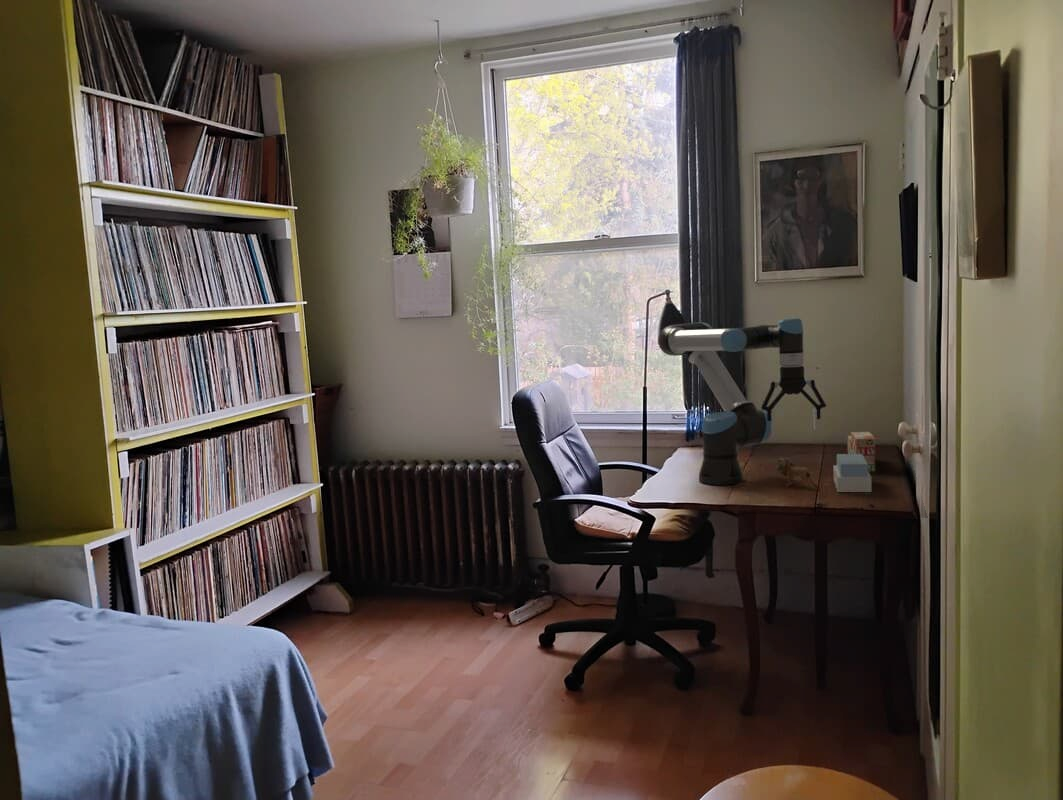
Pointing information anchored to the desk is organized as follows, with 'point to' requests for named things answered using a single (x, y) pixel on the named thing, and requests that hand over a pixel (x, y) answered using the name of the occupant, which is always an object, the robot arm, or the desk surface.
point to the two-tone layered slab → (851, 473)
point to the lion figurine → (793, 472)
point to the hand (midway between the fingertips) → (794, 430)
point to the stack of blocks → (863, 447)
